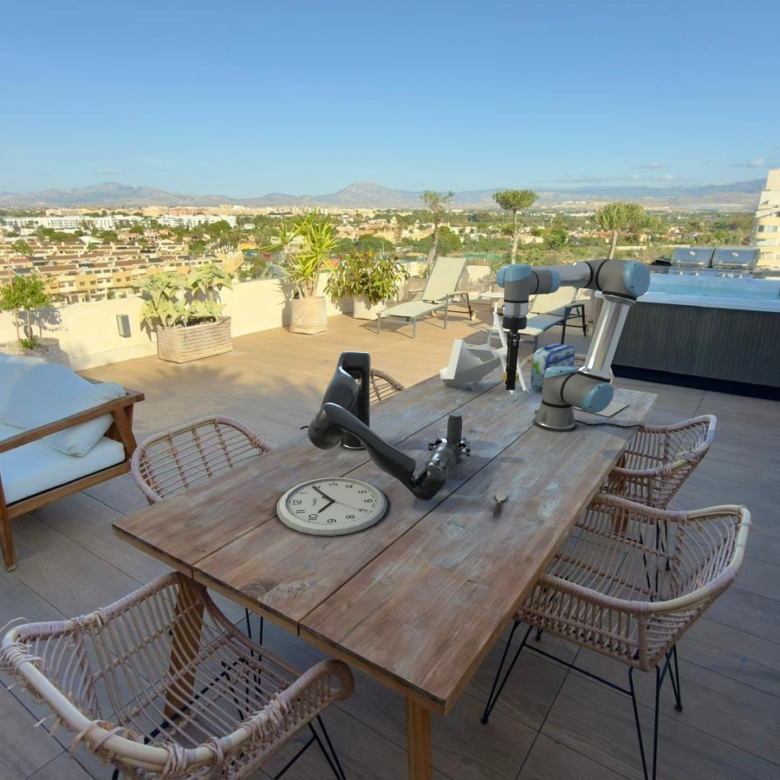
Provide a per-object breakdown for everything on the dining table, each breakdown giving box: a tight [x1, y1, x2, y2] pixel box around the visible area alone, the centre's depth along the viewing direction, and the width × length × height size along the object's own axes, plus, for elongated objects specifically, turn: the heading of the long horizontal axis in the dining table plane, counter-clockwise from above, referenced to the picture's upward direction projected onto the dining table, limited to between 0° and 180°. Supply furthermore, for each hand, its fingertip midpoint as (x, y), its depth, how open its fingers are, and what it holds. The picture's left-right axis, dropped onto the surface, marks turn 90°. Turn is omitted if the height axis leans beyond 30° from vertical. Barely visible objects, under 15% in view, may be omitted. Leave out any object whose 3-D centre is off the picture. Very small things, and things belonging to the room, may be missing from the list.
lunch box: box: [530, 343, 576, 391], centre depth 249 cm, size 26×11×21 cm, turn 134°
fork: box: [492, 486, 508, 519], centre depth 143 cm, size 3×16×2 cm, turn 160°
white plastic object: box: [438, 310, 531, 400], centre depth 245 cm, size 37×45×31 cm
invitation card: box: [573, 400, 629, 418], centre depth 226 cm, size 21×1×15 cm
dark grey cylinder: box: [446, 411, 463, 464], centre depth 170 cm, size 5×5×16 cm
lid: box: [501, 371, 520, 383], centre depth 168 cm, size 5×5×2 cm
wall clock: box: [276, 476, 388, 537], centre depth 142 cm, size 30×2×30 cm
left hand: (455, 438), depth 172 cm, fingers closed on dark grey cylinder, 4 cm apart
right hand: (509, 386), depth 169 cm, fingers closed on lid, 5 cm apart
